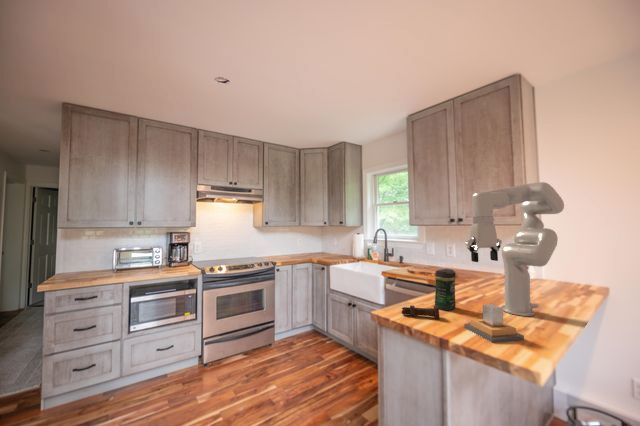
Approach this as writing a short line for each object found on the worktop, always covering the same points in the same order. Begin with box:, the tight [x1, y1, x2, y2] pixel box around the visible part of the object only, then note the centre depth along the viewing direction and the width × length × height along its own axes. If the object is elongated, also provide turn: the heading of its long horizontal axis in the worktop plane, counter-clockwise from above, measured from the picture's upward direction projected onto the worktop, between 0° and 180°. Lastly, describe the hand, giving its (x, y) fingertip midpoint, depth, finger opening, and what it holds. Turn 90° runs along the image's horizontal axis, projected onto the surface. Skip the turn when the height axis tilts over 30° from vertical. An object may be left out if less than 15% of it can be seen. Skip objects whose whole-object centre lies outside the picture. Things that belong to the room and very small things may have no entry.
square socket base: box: [464, 318, 525, 343], centre depth 98 cm, size 13×13×4 cm
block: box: [482, 303, 504, 328], centre depth 98 cm, size 4×4×10 cm
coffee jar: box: [434, 268, 457, 311], centre depth 128 cm, size 10×8×19 cm
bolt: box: [401, 304, 440, 320], centre depth 116 cm, size 6×5×15 cm
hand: (484, 261), depth 114 cm, fingers open, 9 cm apart
